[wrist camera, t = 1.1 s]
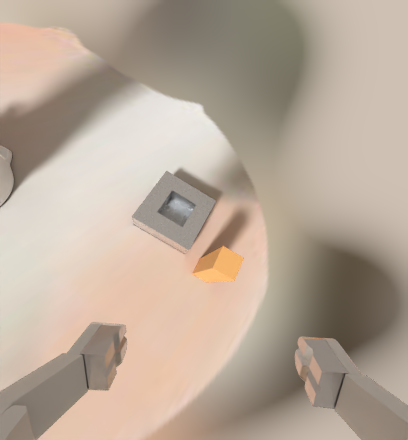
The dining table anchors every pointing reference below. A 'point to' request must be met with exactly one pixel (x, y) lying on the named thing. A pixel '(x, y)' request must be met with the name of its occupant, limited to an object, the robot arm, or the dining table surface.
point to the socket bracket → (174, 212)
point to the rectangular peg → (218, 266)
